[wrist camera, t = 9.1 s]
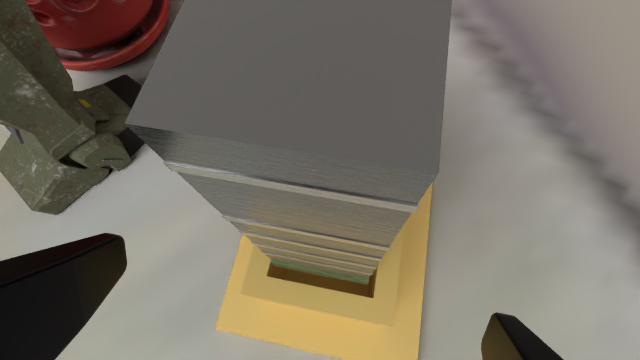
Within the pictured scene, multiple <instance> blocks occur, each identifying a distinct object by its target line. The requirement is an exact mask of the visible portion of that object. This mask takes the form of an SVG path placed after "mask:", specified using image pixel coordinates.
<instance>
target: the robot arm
mask: <svg viewBox="0 0 640 360" xmlns="http://www.w3.org/2000/svg"><path fill="white" fill-rule="evenodd" d="M126 267H127V258H126V250H125V242H124V239H123V237H121V236H120V235H115V234H110V233H103V234H99V235H96V236H92V237H88V238H84V239H81V240H77V241H73V242H70V243H66V244H62V245H59V246H55V247H51V248H47V249H44V250H40V251H36V252H33V253H29V254H25V255H21V256H18V257H14V258H10V259H7V260H3V261H0V360H55V359H56V358H57V357H58V355H59V354H60V353H61V352H62V351H63V350H64V349H65V348H66V346H67V345H68V344H69V343H70V342H71V341H72V340H73V339H74V337H75V336H76V335H77V334H78V333H79V332H80V330H81V329H82V328H83V327H84V326H85V324H86V323H87V322H88V321H89V319H90V318H91V317H92V315H93V314H94V313H95V311H96V310H97V309H98V307H99V306H100V305H101V303H102V302H103V301H104V299H105V298H106V296H107V295H108V294H109V292H110V291H111V290H112V288H113V287H114V286H115V284H116V283H117V282H118V280H119V279H120V278H121V276H122V275H123V273H124V272H125V270H126ZM481 350H482V358H483V360H563V359H562V358H561V357H560V356H559V355H558V354H557V353H556V352H554V351H553V350H552V349H551V348H550V347H549V346H548V345H547V344H545V343H544V342H543V341H542V340H541V339H540V338H539V337H538V336H536V335H535V334H534V333H533V332H532V331H531V330H530V329H529V328H527V327H526V326H525V325H524V324H523V323H522V322H521V321H520V320H518V319H517V318H516V317H515V316H512V315H508V314H503V313H498V312H496V313H494V314H493V315H492V316H491V318H490V321H489V323H488V326H487V328H486V331H485V334H484V336H483V339H482V344H481Z"/></svg>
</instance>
